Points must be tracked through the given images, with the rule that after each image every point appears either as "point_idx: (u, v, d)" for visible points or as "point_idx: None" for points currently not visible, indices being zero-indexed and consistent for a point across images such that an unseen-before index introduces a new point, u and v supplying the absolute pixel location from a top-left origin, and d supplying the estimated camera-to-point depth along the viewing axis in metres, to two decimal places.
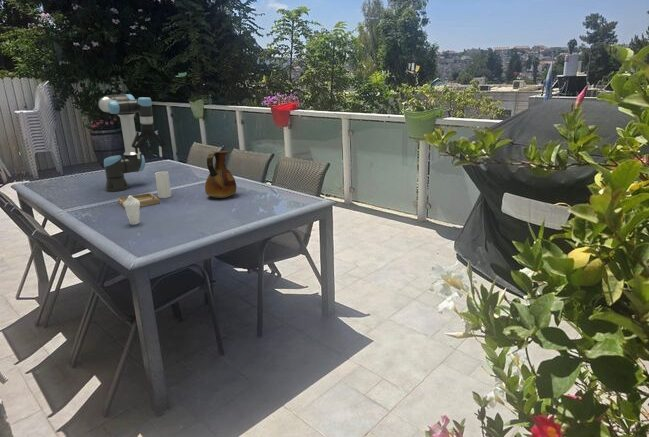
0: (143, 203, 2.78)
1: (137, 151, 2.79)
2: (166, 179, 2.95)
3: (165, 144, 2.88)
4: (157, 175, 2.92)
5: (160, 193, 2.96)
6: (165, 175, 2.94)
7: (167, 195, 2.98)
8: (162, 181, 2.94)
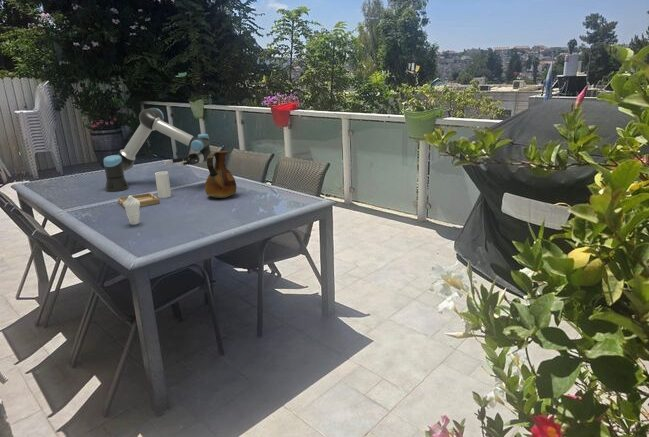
0: (143, 203, 2.78)
1: None
2: (166, 179, 2.95)
3: None
4: (157, 175, 2.92)
5: (160, 193, 2.96)
6: (165, 175, 2.94)
7: (167, 195, 2.98)
8: (162, 181, 2.94)
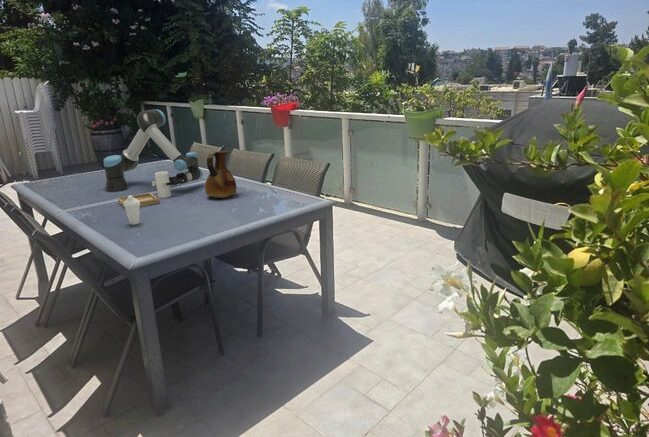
0: (143, 203, 2.78)
1: (168, 184, 2.96)
2: (166, 179, 2.95)
3: None
4: (157, 175, 2.92)
5: (160, 193, 2.96)
6: (165, 175, 2.94)
7: (167, 195, 2.98)
8: (162, 181, 2.94)
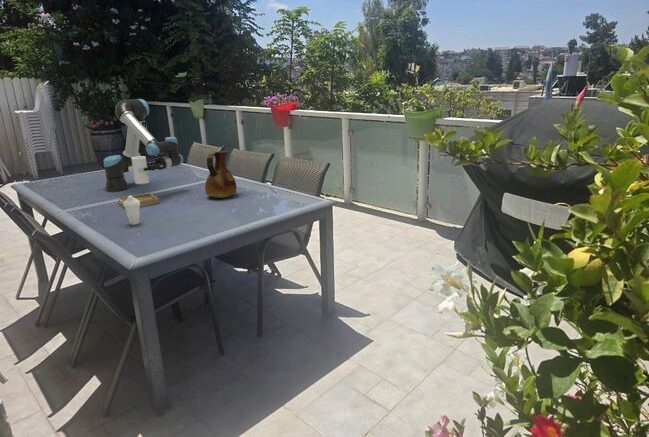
0: (143, 203, 2.78)
1: None
2: (143, 164, 2.79)
3: None
4: (134, 160, 2.76)
5: (137, 179, 2.80)
6: (142, 160, 2.78)
7: (145, 181, 2.81)
8: (139, 166, 2.77)
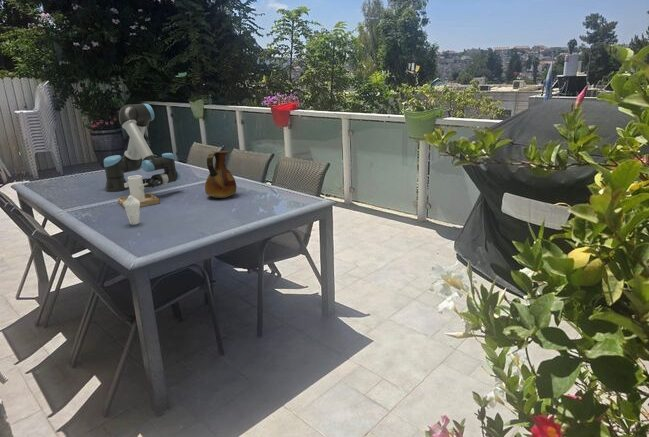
0: (143, 203, 2.78)
1: None
2: (139, 183, 2.80)
3: None
4: (130, 179, 2.78)
5: None
6: (138, 179, 2.79)
7: (141, 200, 2.83)
8: (135, 186, 2.79)
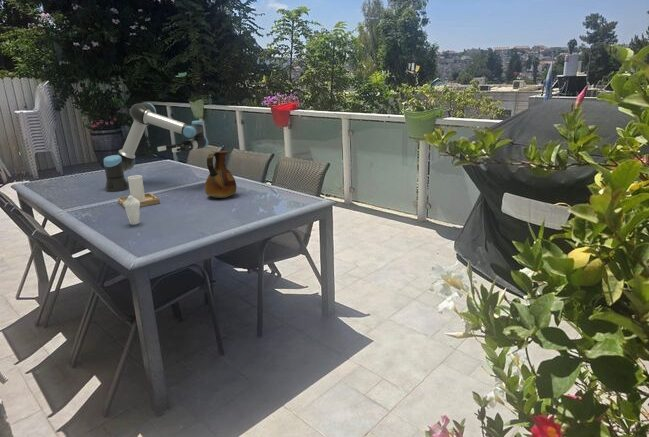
0: (143, 203, 2.78)
1: (178, 150, 2.97)
2: (140, 183, 2.80)
3: None
4: (130, 179, 2.78)
5: None
6: (138, 179, 2.79)
7: (141, 200, 2.83)
8: (135, 186, 2.79)
